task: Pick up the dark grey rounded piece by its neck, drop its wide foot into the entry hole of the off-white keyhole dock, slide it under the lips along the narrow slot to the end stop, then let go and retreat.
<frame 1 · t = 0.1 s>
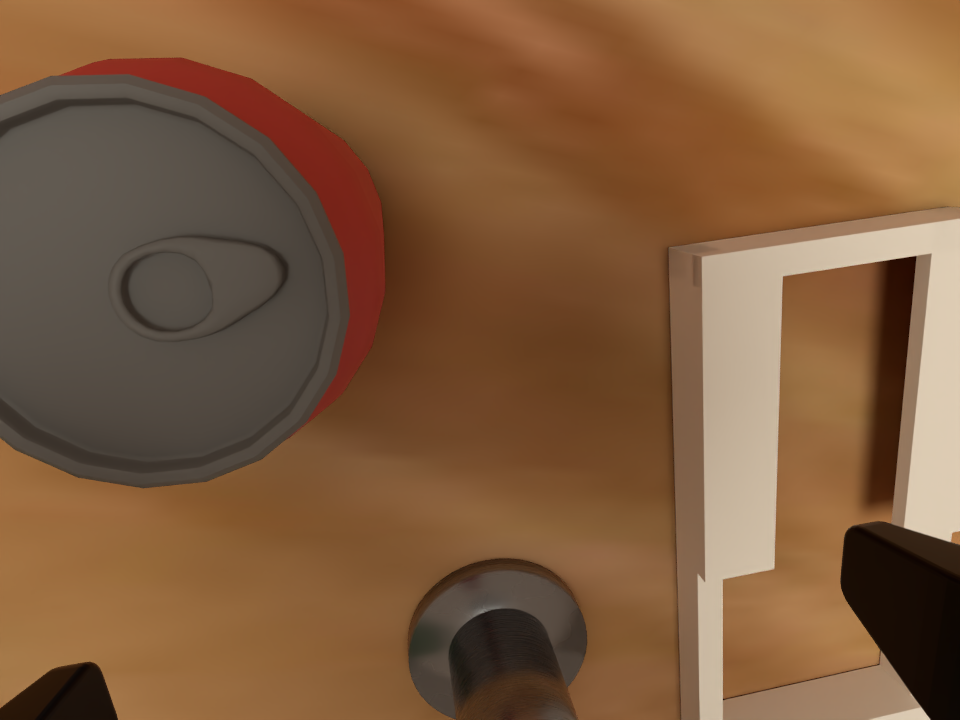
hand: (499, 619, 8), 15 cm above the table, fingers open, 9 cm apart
beer can: (278, 222, 20), on the table
keyhole dock: (800, 489, 25), on the table
dark grey rounded piece: (495, 633, 25), on the table
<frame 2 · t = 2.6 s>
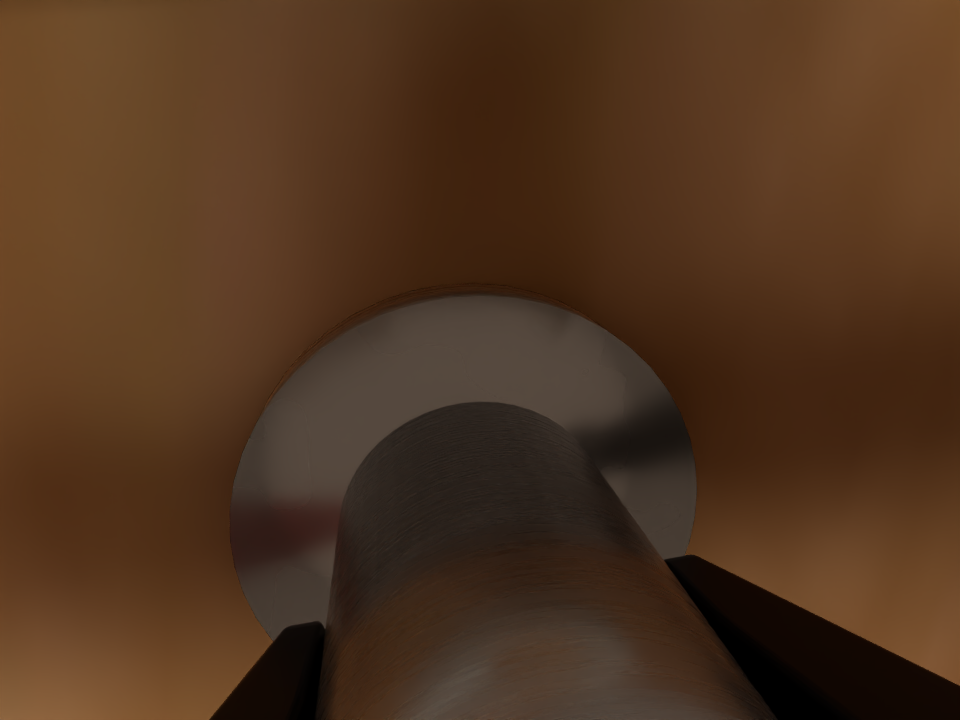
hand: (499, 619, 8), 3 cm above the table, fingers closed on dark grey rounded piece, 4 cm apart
dark grey rounded piece: (466, 494, 10), on the table, touching gripper
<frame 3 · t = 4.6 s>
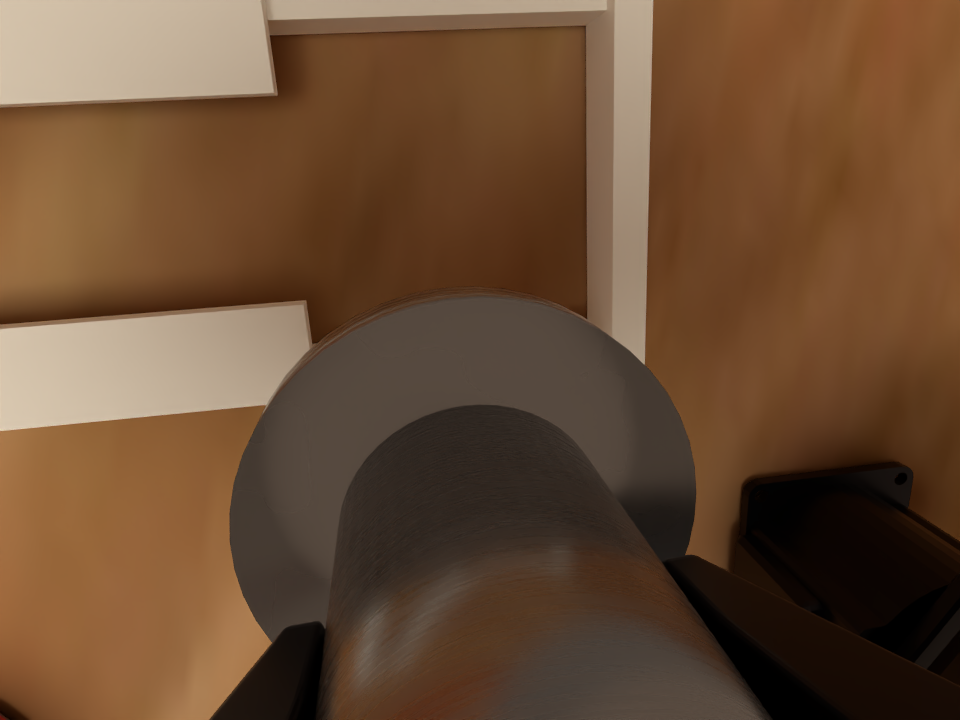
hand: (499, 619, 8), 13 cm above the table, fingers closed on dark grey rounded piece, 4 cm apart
keyhole dock: (247, 202, 18), on the table
dark grey rounded piece: (466, 496, 10), point 10 cm above the table, touching gripper
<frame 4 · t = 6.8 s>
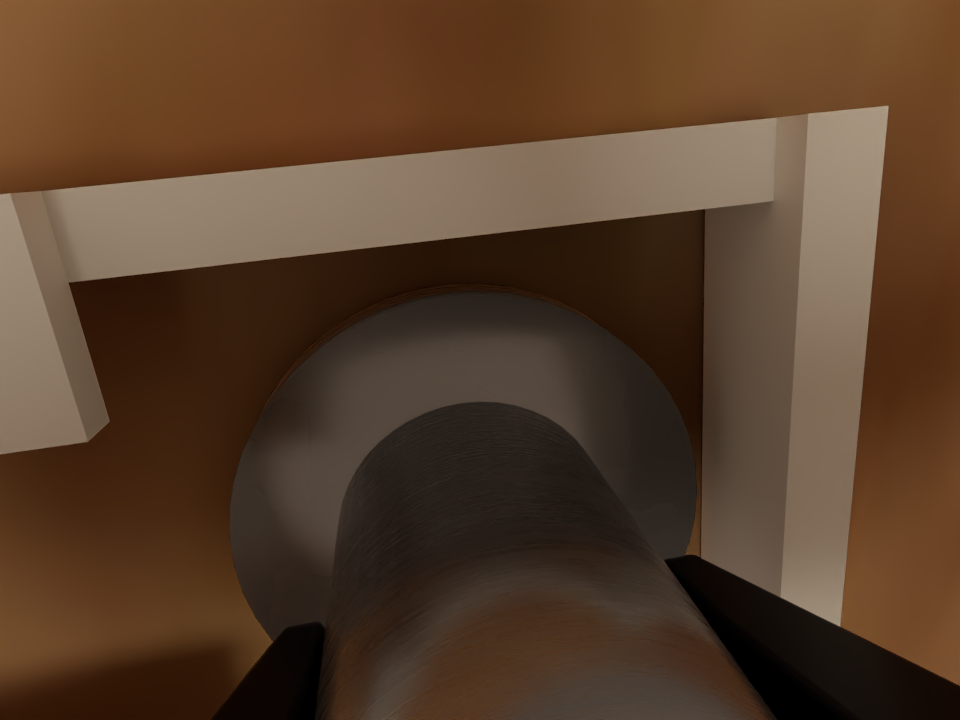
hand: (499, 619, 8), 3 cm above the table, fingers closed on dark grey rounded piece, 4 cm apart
keyhole dock: (101, 543, 10), on the table
dark grey rounded piece: (466, 494, 10), on the table, touching gripper
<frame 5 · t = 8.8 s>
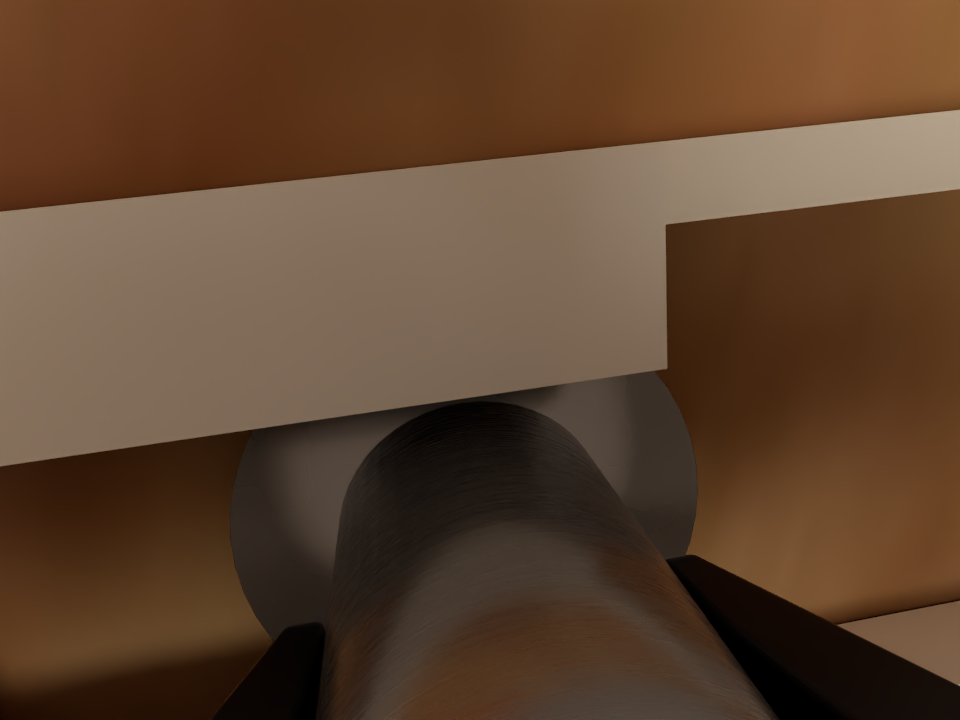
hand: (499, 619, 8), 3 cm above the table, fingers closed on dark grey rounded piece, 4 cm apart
keyhole dock: (525, 482, 11), on the table
dark grey rounded piece: (467, 494, 10), on the table, touching gripper
when the fingers open (3 cm above the table, at t = 10.9 s): dark grey rounded piece stays where it is, on the table.
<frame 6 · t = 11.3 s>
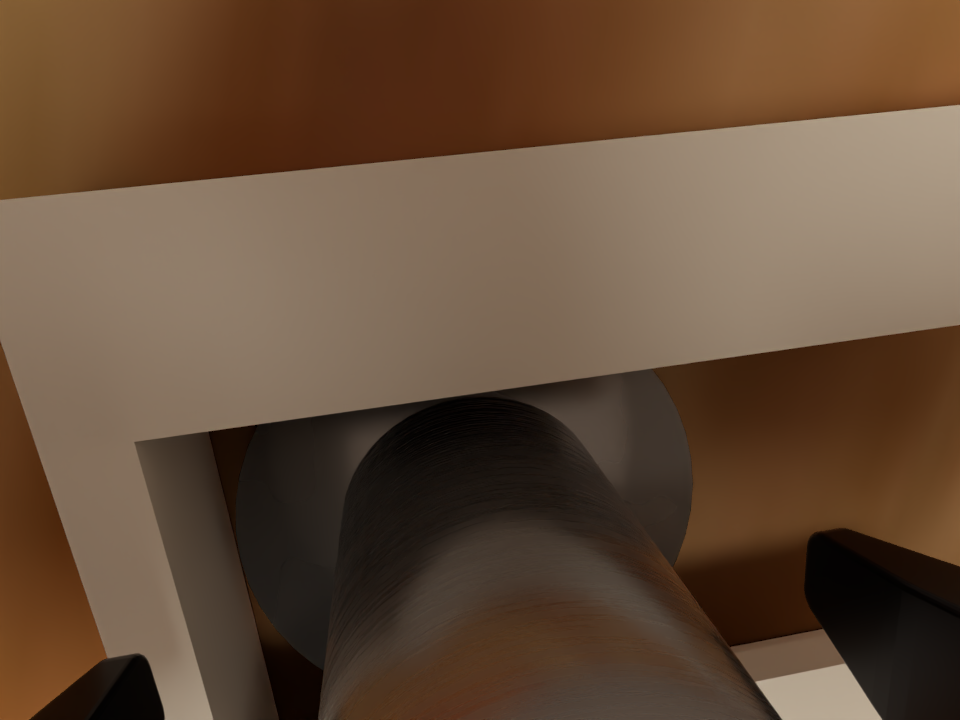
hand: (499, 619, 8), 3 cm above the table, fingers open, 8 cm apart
keyhole dock: (784, 440, 11), on the table
dark grey rounded piece: (467, 488, 11), on the table
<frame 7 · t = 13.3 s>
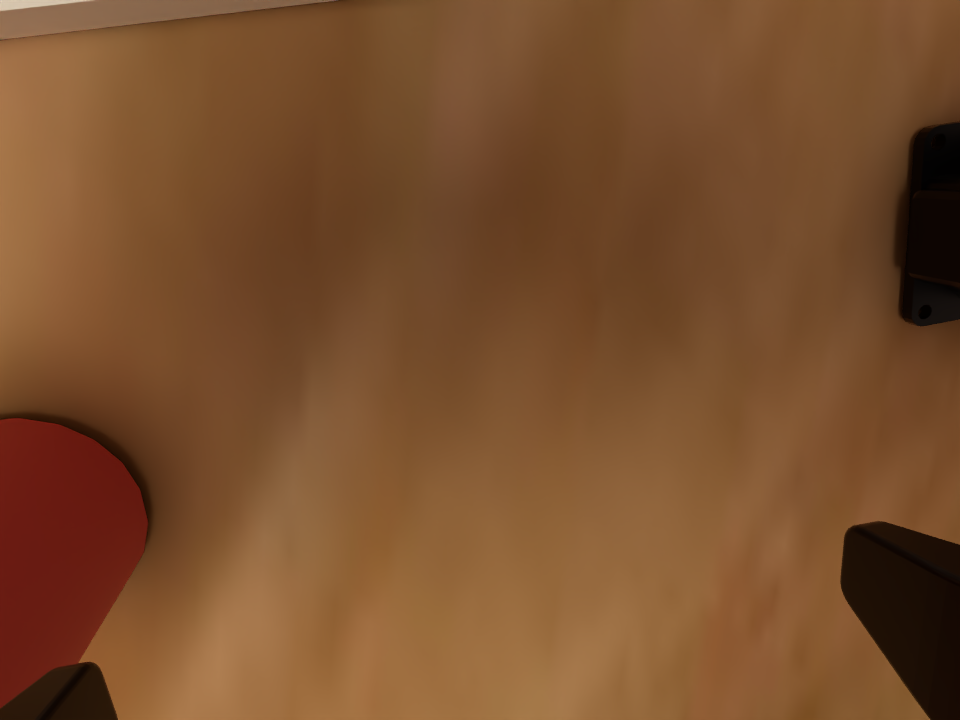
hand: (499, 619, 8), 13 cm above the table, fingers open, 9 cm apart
beer can: (42, 507, 19), on the table
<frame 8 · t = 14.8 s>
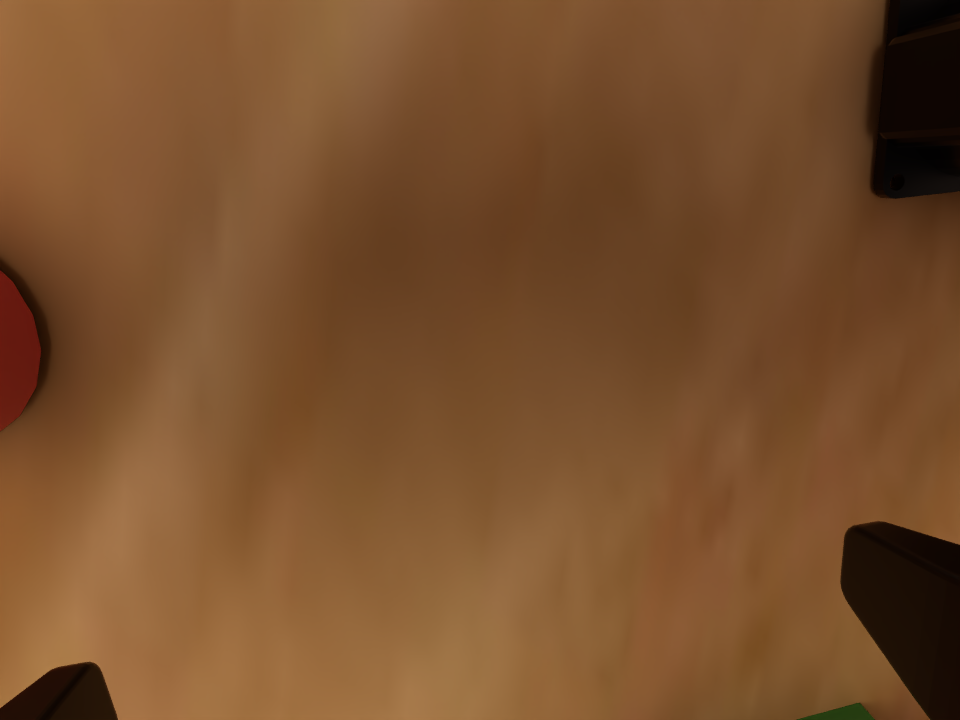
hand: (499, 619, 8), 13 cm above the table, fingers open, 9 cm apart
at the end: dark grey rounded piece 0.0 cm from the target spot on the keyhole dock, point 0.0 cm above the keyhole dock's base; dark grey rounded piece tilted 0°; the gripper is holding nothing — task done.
